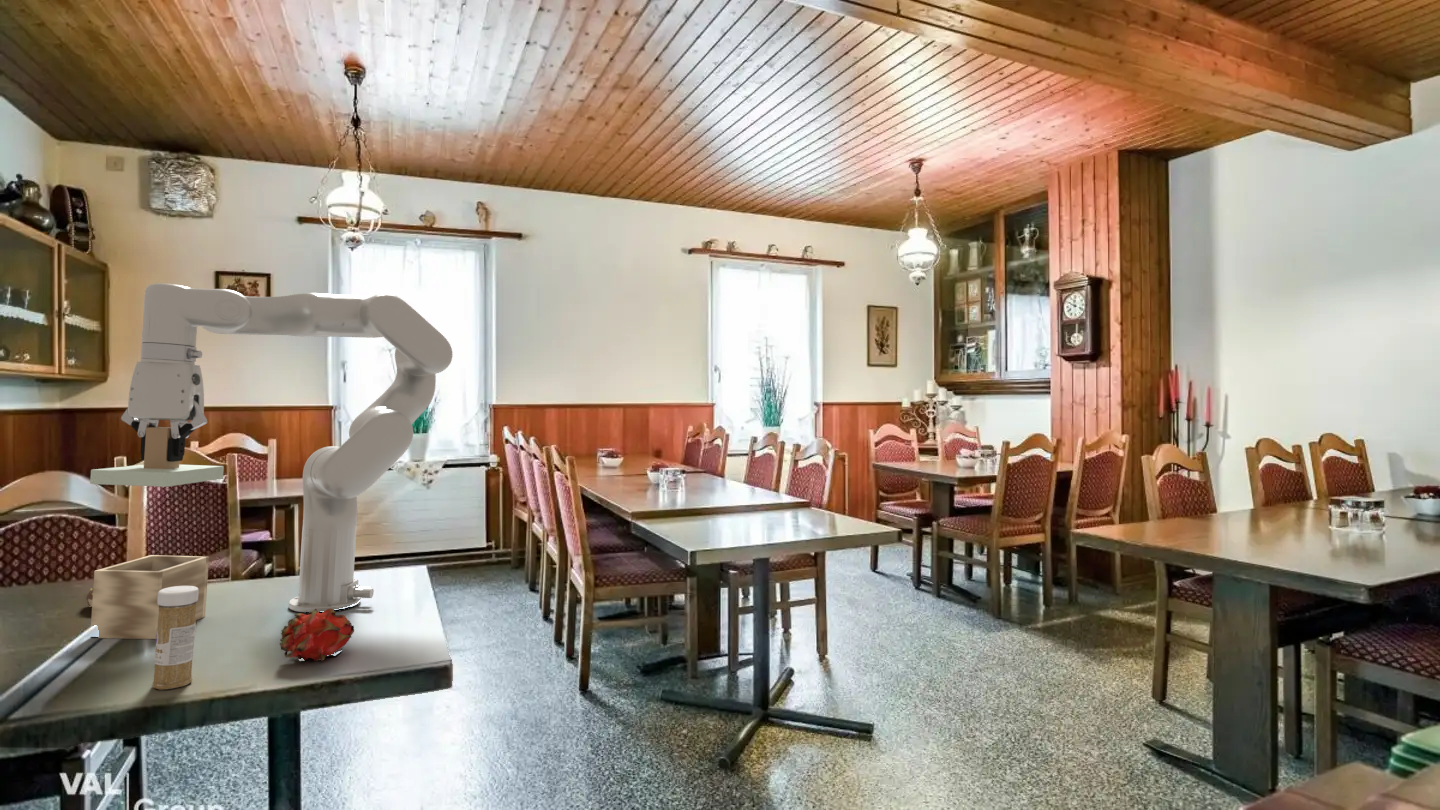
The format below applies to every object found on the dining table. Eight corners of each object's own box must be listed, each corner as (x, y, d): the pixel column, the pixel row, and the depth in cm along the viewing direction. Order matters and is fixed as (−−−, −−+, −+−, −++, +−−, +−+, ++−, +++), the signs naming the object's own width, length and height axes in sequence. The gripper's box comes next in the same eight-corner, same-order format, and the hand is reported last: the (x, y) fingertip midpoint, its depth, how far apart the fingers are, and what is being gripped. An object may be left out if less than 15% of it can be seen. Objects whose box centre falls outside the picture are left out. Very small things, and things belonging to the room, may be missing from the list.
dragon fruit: (268, 678, 107) (344, 669, 117) (300, 654, 104) (375, 646, 114) (261, 625, 111) (335, 620, 121) (292, 600, 108) (365, 597, 118)
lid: (223, 478, 131) (225, 428, 132) (166, 486, 116) (170, 430, 117) (155, 476, 130) (158, 425, 131) (90, 483, 116) (93, 426, 116)
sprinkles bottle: (148, 684, 99) (154, 587, 99) (188, 676, 103) (193, 583, 103) (156, 693, 96) (162, 594, 96) (197, 685, 100) (203, 589, 100)
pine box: (205, 616, 130) (208, 556, 131) (155, 639, 117) (159, 572, 118) (147, 615, 130) (151, 555, 130) (90, 637, 116) (94, 570, 117)
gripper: (231, 359, 128) (225, 461, 128) (134, 354, 127) (127, 457, 127) (204, 356, 121) (198, 464, 120) (101, 351, 119) (94, 460, 119)
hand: (162, 459), depth 124 cm, fingers closed on lid, 3 cm apart
